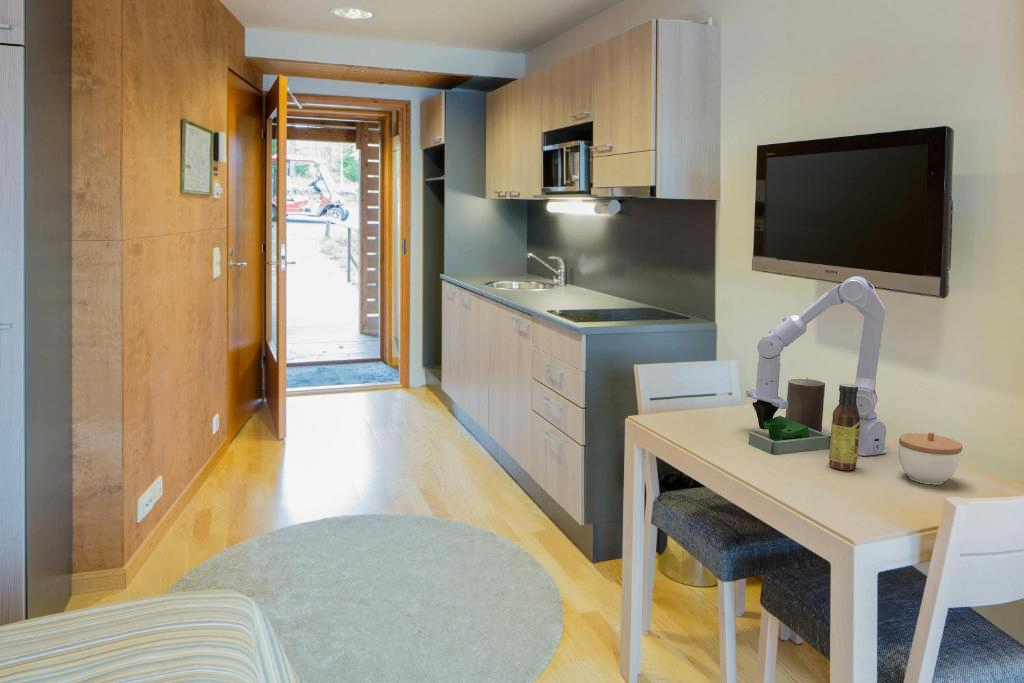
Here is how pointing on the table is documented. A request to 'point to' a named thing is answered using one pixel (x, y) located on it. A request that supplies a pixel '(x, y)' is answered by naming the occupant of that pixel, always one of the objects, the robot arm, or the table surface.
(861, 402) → the robot arm
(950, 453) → the lidded bowl
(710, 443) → the table surface
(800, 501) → the table surface
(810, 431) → the bracket
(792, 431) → the clamp
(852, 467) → the sauce bottle
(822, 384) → the pillar candle
